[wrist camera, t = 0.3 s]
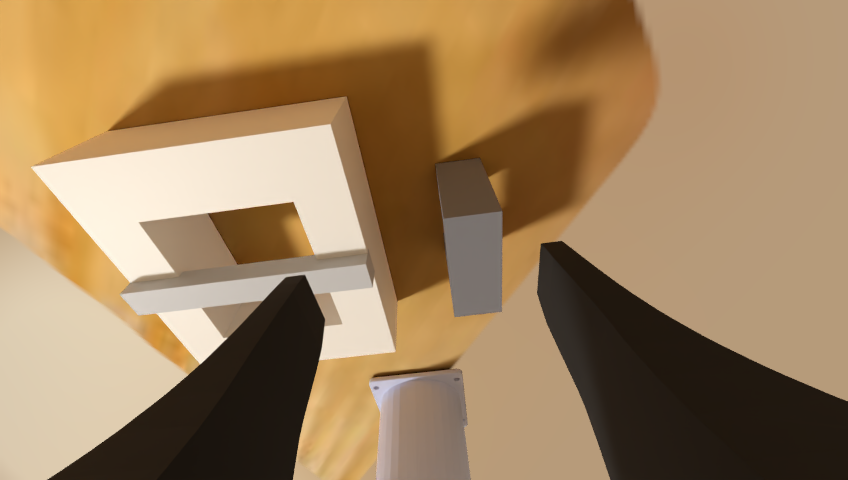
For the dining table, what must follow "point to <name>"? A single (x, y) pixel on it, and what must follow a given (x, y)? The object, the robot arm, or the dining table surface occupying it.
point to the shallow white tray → (229, 190)
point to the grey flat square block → (471, 236)
